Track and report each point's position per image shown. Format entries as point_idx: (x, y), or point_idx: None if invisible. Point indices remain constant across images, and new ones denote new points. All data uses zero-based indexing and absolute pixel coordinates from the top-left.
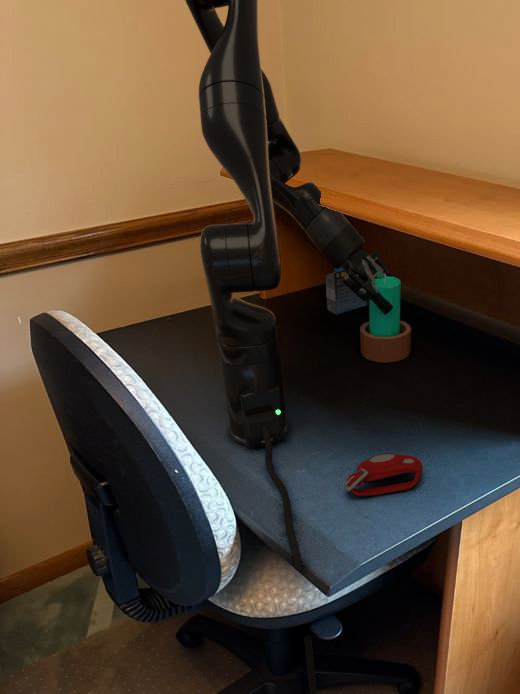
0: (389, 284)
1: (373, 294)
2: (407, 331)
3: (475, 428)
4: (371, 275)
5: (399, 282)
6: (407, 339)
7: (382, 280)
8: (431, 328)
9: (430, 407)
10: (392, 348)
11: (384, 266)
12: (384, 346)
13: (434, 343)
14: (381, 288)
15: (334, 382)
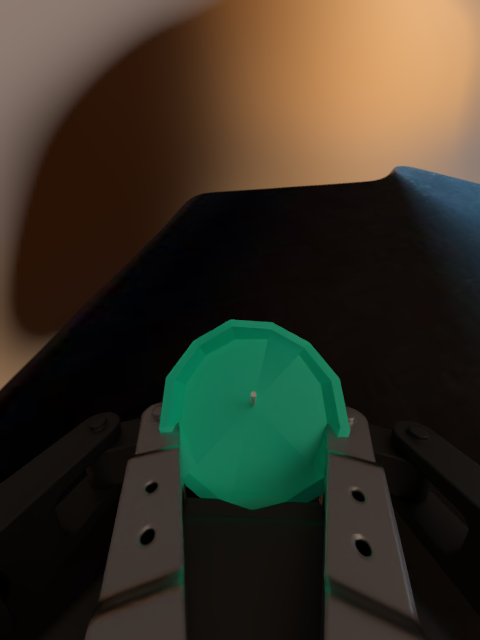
0: (249, 377)
1: (382, 430)
2: None
3: (424, 227)
4: (353, 491)
5: (243, 322)
6: None
7: (199, 440)
8: (112, 361)
9: (414, 282)
10: None
11: (38, 478)
12: None
13: (185, 336)
14: (341, 393)
15: None
